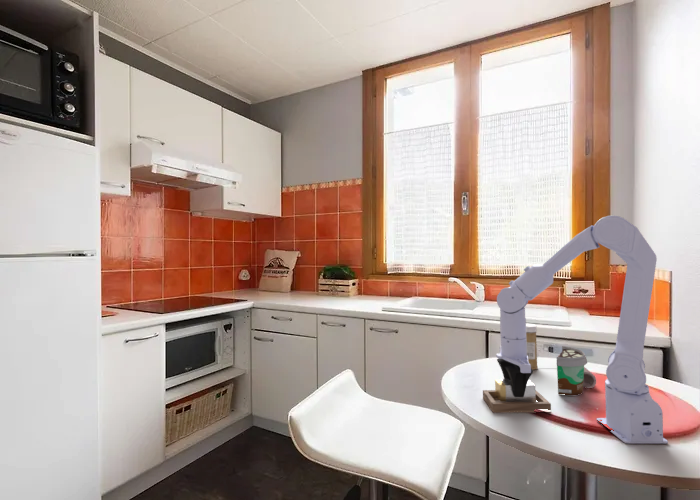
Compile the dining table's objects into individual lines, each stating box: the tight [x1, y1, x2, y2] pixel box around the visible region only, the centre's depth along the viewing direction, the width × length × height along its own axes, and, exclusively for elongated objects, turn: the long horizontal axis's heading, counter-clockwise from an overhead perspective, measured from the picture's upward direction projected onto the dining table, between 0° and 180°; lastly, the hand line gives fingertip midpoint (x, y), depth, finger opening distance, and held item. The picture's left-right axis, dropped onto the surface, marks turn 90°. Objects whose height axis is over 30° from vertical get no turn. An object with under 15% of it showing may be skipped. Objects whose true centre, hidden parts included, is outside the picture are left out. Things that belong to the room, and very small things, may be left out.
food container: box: [556, 345, 588, 396], centre depth 95 cm, size 12×6×10 cm, turn 144°
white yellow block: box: [494, 378, 536, 402], centre depth 88 cm, size 4×8×4 cm, turn 86°
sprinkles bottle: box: [526, 323, 538, 371], centre depth 113 cm, size 5×5×13 cm
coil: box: [557, 354, 597, 389], centre depth 105 cm, size 5×5×18 cm
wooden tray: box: [482, 389, 552, 414], centre depth 88 cm, size 8×13×2 cm, turn 86°
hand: (514, 392), depth 88 cm, fingers closed on white yellow block, 4 cm apart
